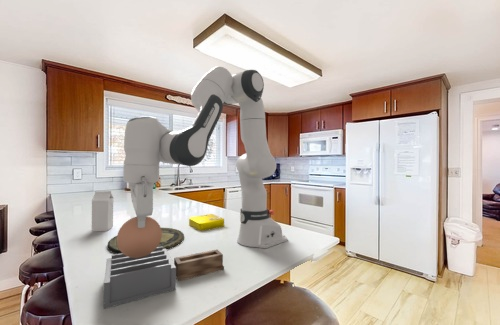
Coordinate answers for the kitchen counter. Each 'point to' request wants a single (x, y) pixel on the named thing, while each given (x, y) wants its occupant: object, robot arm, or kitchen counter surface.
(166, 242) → the decorative plate
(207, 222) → the element tile
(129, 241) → the terracotta plate
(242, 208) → the robot arm
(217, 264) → the walnut plate stand
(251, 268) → the kitchen counter surface
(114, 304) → the charcoal dish rack
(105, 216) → the milk carton
